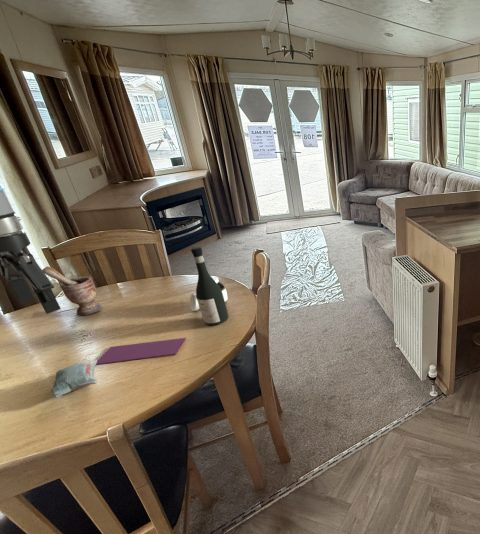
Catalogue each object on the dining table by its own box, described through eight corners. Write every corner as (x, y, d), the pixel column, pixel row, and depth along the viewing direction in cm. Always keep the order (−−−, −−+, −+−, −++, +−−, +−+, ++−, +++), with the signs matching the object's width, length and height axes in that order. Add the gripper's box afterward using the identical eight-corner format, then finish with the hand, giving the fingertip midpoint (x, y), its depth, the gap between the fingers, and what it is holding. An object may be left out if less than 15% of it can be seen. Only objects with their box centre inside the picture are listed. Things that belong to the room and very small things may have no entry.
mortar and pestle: (62, 322, 126) (37, 274, 117) (64, 312, 131) (40, 265, 123) (104, 311, 133) (83, 265, 124) (104, 303, 138) (84, 258, 130)
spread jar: (232, 302, 142) (226, 277, 137) (209, 316, 132) (202, 290, 127) (209, 297, 145) (202, 273, 140) (185, 311, 135) (176, 285, 130)
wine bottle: (217, 328, 125) (195, 253, 112) (199, 324, 127) (175, 250, 114) (233, 316, 132) (214, 245, 120) (216, 313, 134) (196, 242, 121)
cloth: (93, 365, 105) (93, 364, 105) (110, 347, 113) (110, 346, 113) (175, 354, 111) (175, 353, 111) (186, 338, 119) (185, 337, 119)
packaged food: (100, 366, 105) (93, 353, 103) (99, 387, 97) (92, 374, 95) (60, 379, 100) (52, 366, 98) (56, 403, 92) (47, 389, 90)
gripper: (49, 236, 84) (83, 309, 93) (-1, 222, 93) (34, 290, 101) (5, 246, 78) (46, 323, 87) (-45, 230, 86) (-3, 302, 95)
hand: (40, 305), depth 94 cm, fingers open, 13 cm apart
